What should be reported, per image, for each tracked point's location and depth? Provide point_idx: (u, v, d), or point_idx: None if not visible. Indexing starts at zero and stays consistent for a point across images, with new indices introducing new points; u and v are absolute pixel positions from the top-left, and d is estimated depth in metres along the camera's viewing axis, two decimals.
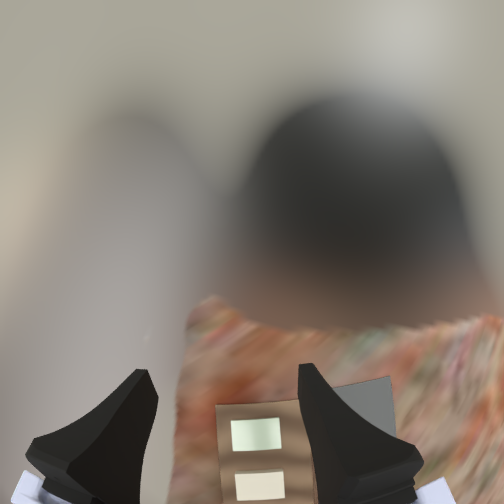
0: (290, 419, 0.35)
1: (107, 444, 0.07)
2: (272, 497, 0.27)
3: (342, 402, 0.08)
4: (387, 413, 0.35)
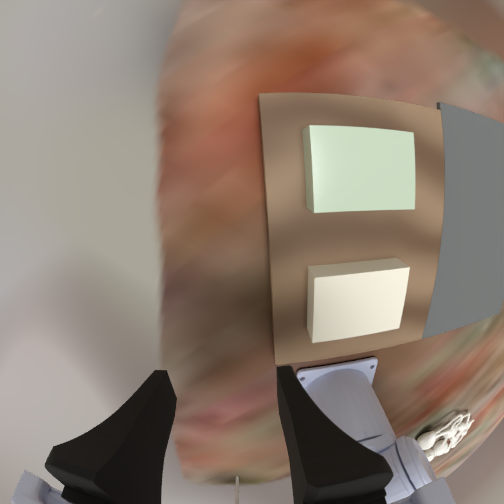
0: (418, 146, 0.16)
1: (131, 449, 0.07)
2: (379, 328, 0.18)
3: (315, 407, 0.08)
4: None
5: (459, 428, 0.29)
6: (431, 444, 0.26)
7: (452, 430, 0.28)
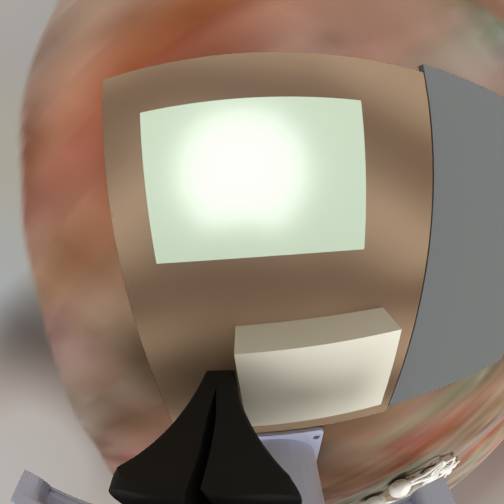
0: (382, 130, 0.09)
1: (204, 457, 0.07)
2: (349, 408, 0.11)
3: (241, 414, 0.08)
4: None
5: (441, 471, 0.22)
6: (404, 494, 0.20)
7: (432, 476, 0.21)
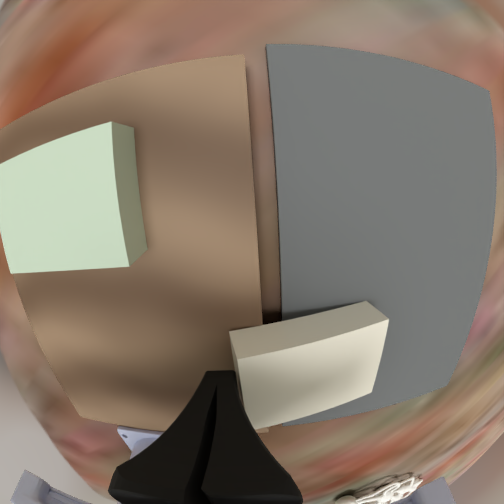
0: (177, 136, 0.09)
1: (203, 457, 0.07)
2: (344, 399, 0.12)
3: (242, 414, 0.08)
4: (485, 191, 0.11)
5: (398, 491, 0.22)
6: None
7: (385, 496, 0.21)
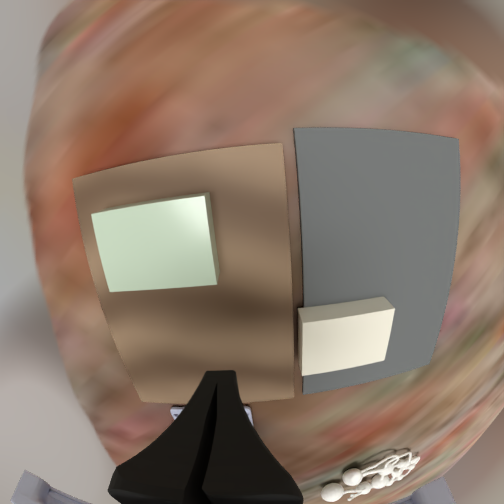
0: (240, 200, 0.16)
1: (203, 457, 0.07)
2: (365, 361, 0.19)
3: (242, 414, 0.08)
4: (448, 218, 0.18)
5: (398, 465, 0.29)
6: (355, 482, 0.26)
7: (386, 468, 0.28)
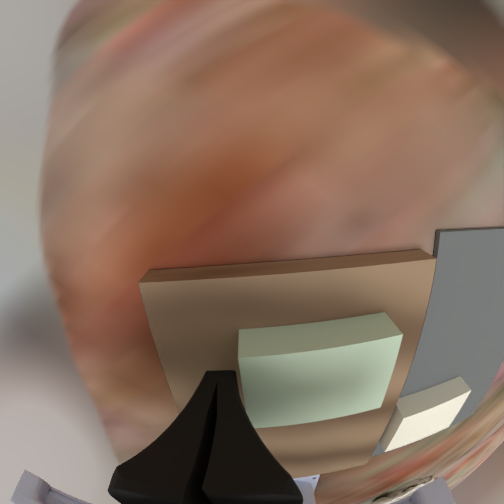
0: None
1: (203, 457, 0.07)
2: (435, 431, 0.15)
3: (242, 414, 0.08)
4: None
5: None
6: None
7: None
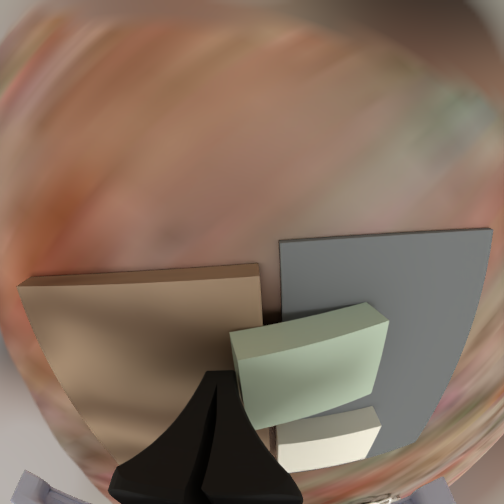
0: (205, 342, 0.12)
1: (203, 457, 0.07)
2: (344, 461, 0.15)
3: (242, 414, 0.08)
4: (461, 324, 0.14)
5: None
6: None
7: None
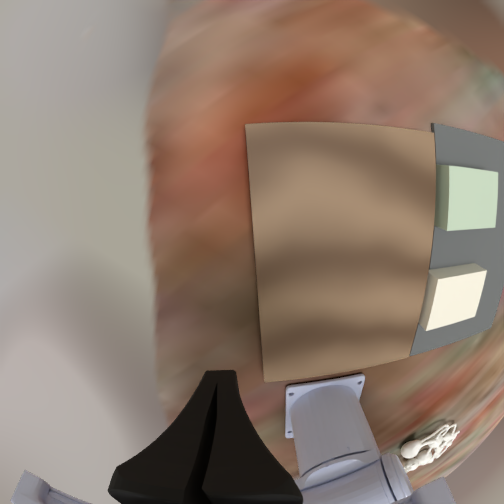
0: (408, 172, 0.16)
1: (203, 457, 0.07)
2: (464, 317, 0.20)
3: (242, 414, 0.08)
4: None
5: (444, 438, 0.29)
6: (415, 453, 0.27)
7: (437, 440, 0.28)
